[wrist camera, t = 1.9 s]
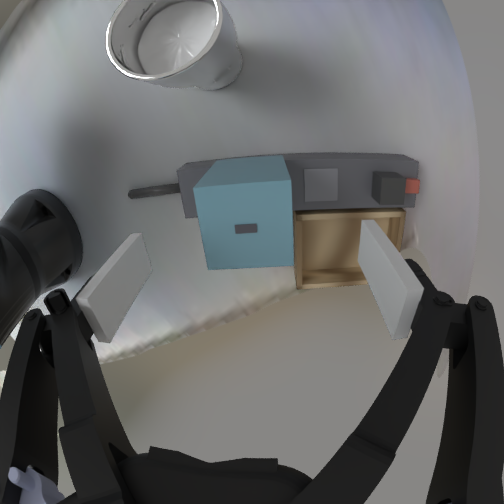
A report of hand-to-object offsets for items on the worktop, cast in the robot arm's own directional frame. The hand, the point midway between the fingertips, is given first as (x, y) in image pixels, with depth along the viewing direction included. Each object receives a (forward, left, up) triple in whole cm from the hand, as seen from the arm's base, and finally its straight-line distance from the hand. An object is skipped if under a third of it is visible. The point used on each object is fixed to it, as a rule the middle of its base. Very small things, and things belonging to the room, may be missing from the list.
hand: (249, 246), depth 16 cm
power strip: (+1, 0, -15) cm, 15 cm away
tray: (+10, -7, -15) cm, 19 cm away
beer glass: (-3, +13, -15) cm, 20 cm away
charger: (0, 0, -14) cm, 14 cm away
